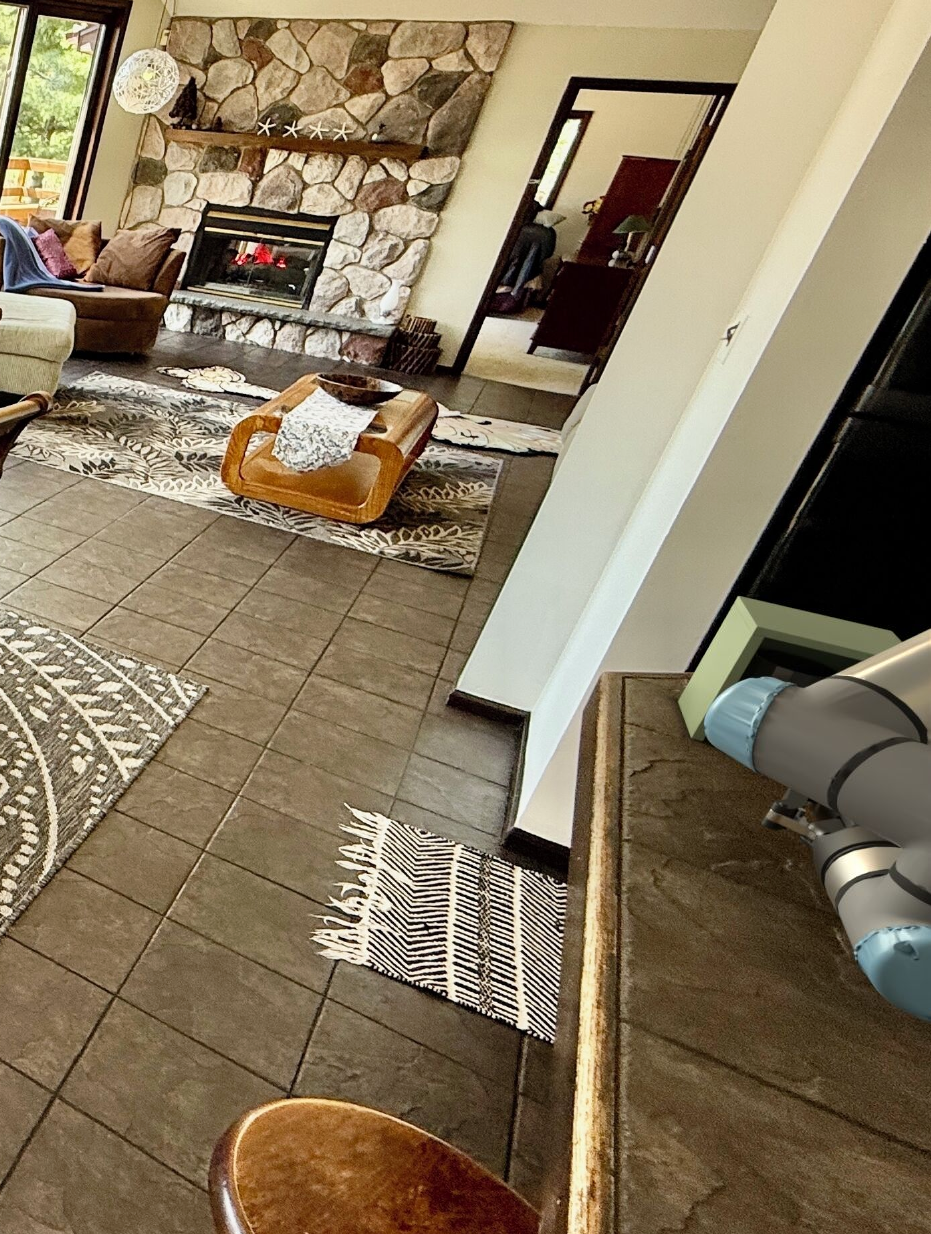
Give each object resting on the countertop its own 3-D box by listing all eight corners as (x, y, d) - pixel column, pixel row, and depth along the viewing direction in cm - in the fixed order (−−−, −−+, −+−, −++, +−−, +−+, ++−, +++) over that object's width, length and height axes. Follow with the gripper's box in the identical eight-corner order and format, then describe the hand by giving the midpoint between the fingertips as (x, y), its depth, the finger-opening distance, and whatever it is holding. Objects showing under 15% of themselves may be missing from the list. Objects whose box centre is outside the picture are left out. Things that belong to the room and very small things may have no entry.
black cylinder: (787, 737, 119) (834, 663, 115) (801, 761, 114) (850, 685, 110) (704, 713, 123) (746, 642, 119) (714, 736, 118) (758, 662, 114)
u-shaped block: (819, 743, 118) (892, 631, 112) (844, 785, 109) (925, 666, 103) (676, 703, 125) (738, 595, 119) (689, 740, 116) (756, 626, 110)
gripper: (758, 883, 88) (717, 774, 105) (982, 960, 81) (898, 829, 98) (804, 814, 85) (754, 713, 102) (1041, 887, 78) (943, 765, 95)
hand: (824, 770), depth 100 cm, fingers closed
